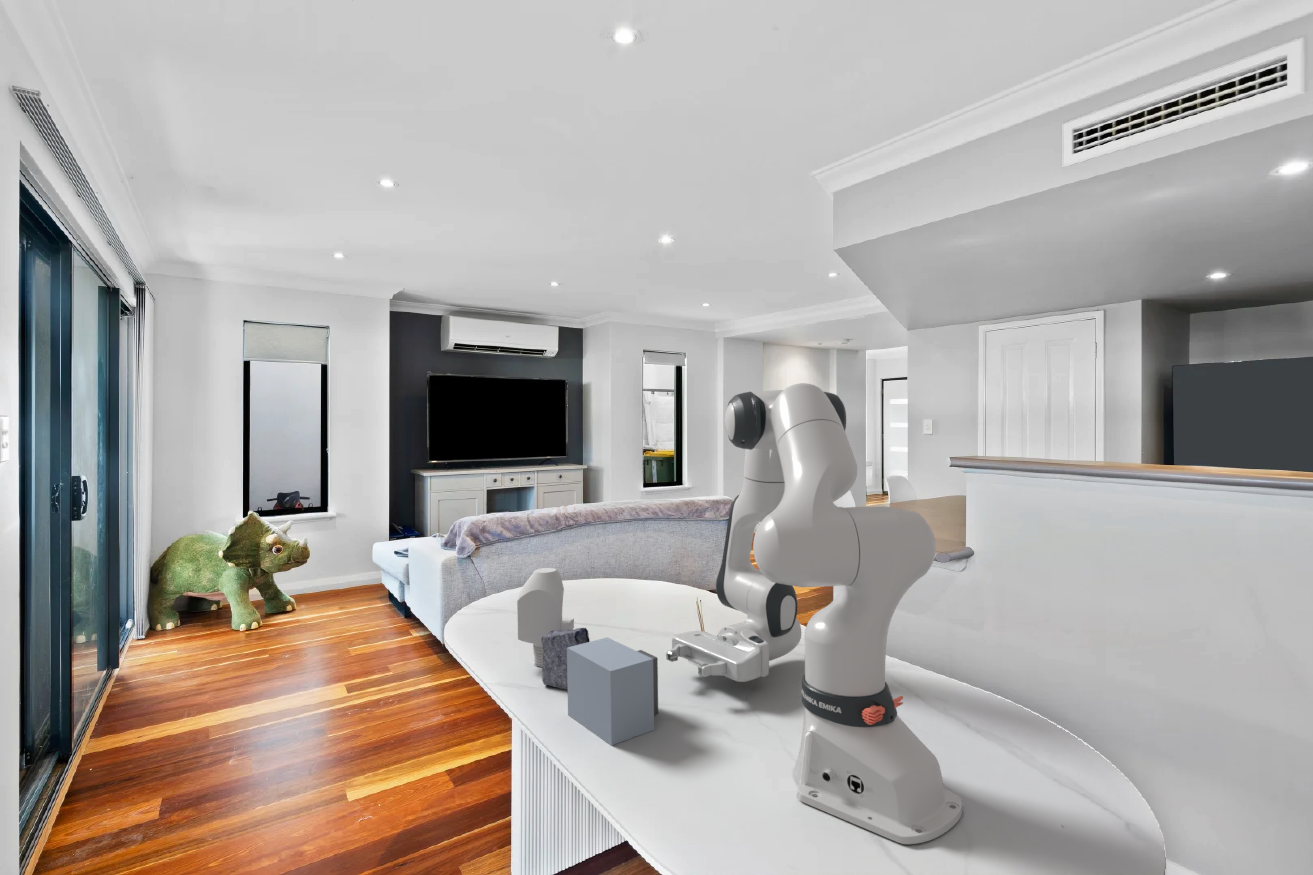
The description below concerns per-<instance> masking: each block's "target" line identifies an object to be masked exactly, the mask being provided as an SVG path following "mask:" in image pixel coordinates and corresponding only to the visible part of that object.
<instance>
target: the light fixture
mask: <svg viewBox="0 0 1313 875" xmlns="http://www.w3.org/2000/svg"><path fill="white" fill-rule="evenodd" d="M564 587H565V586H564V584H563V578H562V576H561V573H560V572H559V570H557V569H556V568H553V567H542V568H538V569H535V570H533V573H532V574H531V575H530V576H529V578H528V579H527V580H526V581H525V582H524V584H523V585H522V587H521V590H520V592H519V595H518V597H517V602H516V603H517V604H516V606H517V639H518V640H519V641H521V642H523V643H524V642H525V643H528V644H532V655H533V656H532V658H533V665H534V666H536V667H538V666H539V668H542V666H543V646H542V642H541V638H542V636H543V635H545V634H548V633H549V632H550V631H551V630H561V631H567V630H574V629H575V620H574V619H575V618H574V617H563V605H564V604H563V603H564V592H565V588H564Z"/></svg>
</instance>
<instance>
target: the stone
mask: <svg viewBox="0 0 1313 875" xmlns="http://www.w3.org/2000/svg"><path fill="white" fill-rule="evenodd" d="M541 642H542V646H543V666H542V667H541V670H542V672H543V673H542V677H541V678H542V679H541V681H542V683H543V685H545V686H547V685H548V686H551V687H553V688H558V689H559V690H560V689H561V690H562V689H563V690H566V691H568V684H567V647H571V646H575V645H579V644H583V643H587V642H591V641H590V635H589V630H588V629H587V627H578V628H573V630H567V631H561V630H551V631H550V632H549V633H548V634H545V635H543V636H542V638H541Z"/></svg>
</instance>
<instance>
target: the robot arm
mask: <svg viewBox="0 0 1313 875" xmlns="http://www.w3.org/2000/svg"><path fill="white" fill-rule="evenodd" d="M724 428H725V430H726V434H727V437H728V439H729V441H730V442H731V443H732V445H733V446H735V447H736V448H739V449H742V450H745V454H744V460H743V475H742V476H743V478H742V479H743V480H742V481H743V482H742V486H741V490H740V493H739V494H738V495H736V496H735V498H734V499H733V502H732V503H731V506H730V511H729V514H728V520H727V526H726V533H725V534H726V535H725V540H724V545H723V546H724V547H723V553H722V560H721V563H720V564H721V565H720V568H719V570H718V573H717V577H716V580H715V592H716V595H717V598H718V600H719V602H720V603H721V605H723V606H725V607H727V608H730V609H733V610H735V611H739V612H741V613H743V614H745V615H747V618H746V620H744V621H742V622H737V623H734V624H731V625H727V626H724V627H722V628H721V629H720V630H719V631H718V633H717V635H713V634H711V633H708V632H706V631H703V630H692V631H686V632H682V633H677V634H674V635H673V636H672V638H671V649H669V650H667V651H666V652H665V659H666V661H669V662H671V663H673V662H676V661H678V660H679V658H683V659H685V660H687V661H690V662H691V663H695V664H696V665H698V667H697V669H698V675H700V676H702V677H704V678H706V677H709V676H724V677H726V678H729V679H730V680H733V681H735V682H738V683H744V682H745V683H747V682H749V681H753V680H755V679H759V678H765V677H767V676H769V671H770V662H771V661H773V660H777V659H779V658H781V657H783V656H786V655H788V654H789V653H790V652H792V651H793V650H794V649H795V648H796V647H797V646H798V645H799V643H800V641H801V639H802V627H801V623H800V621H799V619H798V618H797V615H798V598H797V593H796V589H795V588H794V587H799V588H817V587H840V590H839V591H838V594H837V595H836V596H835V598H834V599H833V600H832V601H831V602H830V603H829V604H828V605H826V606H824V607H823V608H821V609H820V610H818V611H816V612H815V613H814V614H813V615H812V616H810V617H811V618H810V619H809V620H808V622H807V624H806V626H805V628H804V674H803V676H802V679H801V680H802V681H801V703H802V705H803V708H804V710H803V723H802V732H801V741H800V746H799V752H798V755H797V759H796V762H795V763H796V764H795V765H794V770H793V774H794V779H795V780H796V782H797V785H798V789H797V799H798V800H799V801H800V802H802V803H804V804H806V805H807V806H808V805H809V806H811V807H813V808H815V809H818V810H821V811H823V812H824V813H827V814H830V815H832V816H835V817H836V818H840V819H842V820H844V821H846V822H849V823H851V824H853V825H856V826H858V827H861V828H863V829H865V830H868V831H870V832H873V833H875V834H877V835H879V836H882V837H884V838H886V839H888V840H891V841H893V842H896V843H899V844H900V845H901V844H902V845H916V844H922V843H925V842H929V841H932V840H934V839H936V838H939V837H940V836H942V835H944V834H945V833H947V832H948V831H949V830H950V829H952V828H953V827H954V826H955V825H956V824H957V823H958V822H959V821H960V819H961V817H962V816H963V805H962V804H963V803H962V799H961V797H960V796H958V795H957V794H956V793H954V792H952V791H950V790H949V789H948V788H946V787H945V786H944V781H943V776H942V770H941V766H940V763H939V761H938V758H937V757H936V756H935V754H934V753H933V752H932V751H931V750H930V749H929V748H928V747H927V746H926V745H925V744H924V743H923V741H921V739H920V738H919V737H918V736H917V735H916V734H915V733H914V732H913V731H912V730H911V728H909V726H908V725H907V724H906V723H905V722H904V721H903V719H901V718H900V717H899V715H898V710H897V708H899V706H902V705H903V704H904V702H903V701H902V700H903V698H904V696H903V695H900V696H898V697H896V698H893V696H892V692H891V690H890V688H889V685H888V683H887V682H886V658H887V657H886V656H887V654H886V653H887V640H888V633H889V628H890V624H891V621H892V619H893V615H894V613H895V612H896V609H897V608H898V605H899V604H900V601H901V600H902V598H903V597H904V595H905V594H906V593H907V592H908V590H909V589H910V588H911V587H912V586H913V585H914V584H915V583H916V582H917V581H919V580H920V579H921V578H922V577H924V576H926V574H927V573H928V572H929V571H930V568H931V567H932V565H933V562H934V561H935V557H936V539H935V535H934V532H933V530H932V528H931V526H930V524H929V523H928V522H927V520H926V519H925V517H923V516H922V515H921V514H920V513H918V512H916V511H913V510H909V509H902V508H898V507H896V508H895V507H891V506H856V507H855V506H852V507H850V506H849V507H843V506H837V505H836V504H835V502H836V501H837V500H839V499H840V498H842V497H843V496H844V495H846V494H847V493H848V492H849V491H850V490H851V489H852V487H853V486H854V485H855V482H856V480H857V478H858V477H857V476H858V463H857V461H856V458H855V456H854V452H853V450H852V448H851V444H850V442H849V438H848V437H847V436H848V435H847V434H846V428H847V413H846V408H845V404H844V402H843V401H842V399H841V398H840V397H839V396H838V394H835V393H832V392H828V391H824V390H822V388H820V387H818V386H816V385H814V384H811V383H805V382H804V383H795V384H792V385H790V386H787V387H786V388H785V389H778V390H777V389H776V390H765V391H757V392H752V391H746V392H741V393H738V394H735V395H734V396H733V397H732V398H731V399H730V400H729V401H728V403H727V407H726V409H725V415H724ZM757 525H758V527H757ZM756 527H757V528H756ZM755 529H756V531H755ZM754 532H755V533H754ZM752 543H753V544H752ZM752 550H753V555H754V556H753V557H754V560H755V563H756V565H757V567H758V568H757V567H755V566H754V564H753V563H752V562H751V559H750V557H751V552H752Z"/></svg>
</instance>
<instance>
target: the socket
mask: <svg viewBox="0 0 1313 875" xmlns="http://www.w3.org/2000/svg"><path fill="white" fill-rule="evenodd" d="M637 651H638V650H635V649H633V648H631V647H629V646H626V644H625V645H624V644H623V643H620V642H619V641H616V640H614V639H612V638H610V637H603V638H600V639H595V640H591V641H590V642H587V643H583V644H579V645H575V646H571V647H567V684H568V690H567V715H568V716H569V717H570V718H572V719H573V720H574V721H576V722H577V723H579V725H582V727H583V728H584V727H585V729H588V730H589V731H590V732H591V733H593V734H594V735H596V736H597V737H599V738H600V739H601V740H603V741H604V742H606V743H607V744H608V745H609V746H615V745H617V744H620V743H622V741H623V742H625V741H624V740H626V741H628V740H631V739H633V738H632V737H634V738H636V737H639V736H641V735H645V734H647V733H649V732H652V731H654V730H655V715H654V689H653V659H652V658H650V657H648V656H646V655H644V654H642V653H640V652H637ZM635 736H636V737H635Z"/></svg>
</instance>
